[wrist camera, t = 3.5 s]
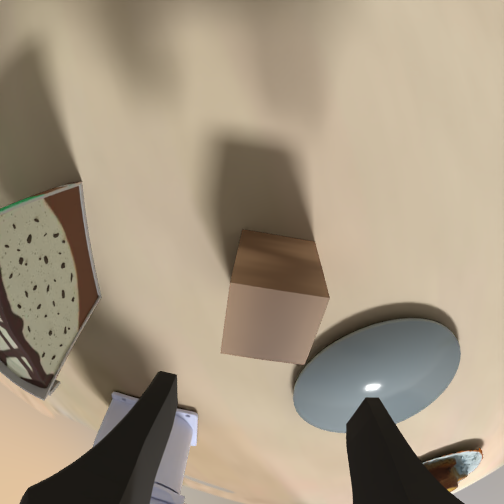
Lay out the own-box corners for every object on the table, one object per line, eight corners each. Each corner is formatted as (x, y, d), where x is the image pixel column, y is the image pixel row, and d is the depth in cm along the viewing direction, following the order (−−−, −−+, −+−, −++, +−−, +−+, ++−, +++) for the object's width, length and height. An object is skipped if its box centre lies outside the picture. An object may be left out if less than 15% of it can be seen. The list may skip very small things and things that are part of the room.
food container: (20, 164, 17) (-80, 215, 8) (80, 159, 17) (-35, 215, 8) (50, 301, 23) (-11, 377, 14) (105, 312, 23) (47, 405, 14)
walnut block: (233, 289, 21) (220, 353, 15) (242, 229, 19) (230, 282, 13) (298, 300, 21) (304, 364, 16) (314, 241, 19) (329, 297, 13)
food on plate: (365, 504, 47) (367, 528, 41) (344, 478, 37) (346, 512, 31) (470, 467, 40) (476, 489, 35) (489, 423, 31) (501, 454, 25)
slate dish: (276, 422, 28) (275, 429, 27) (323, 301, 21) (325, 310, 20) (407, 423, 28) (409, 430, 27) (484, 319, 21) (489, 326, 20)
